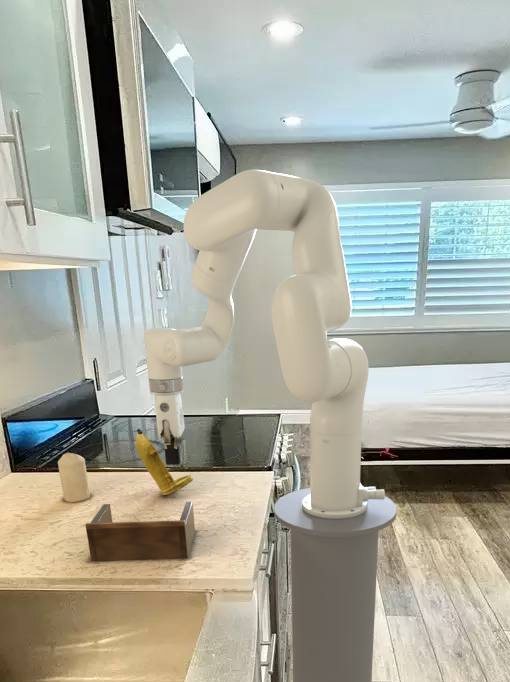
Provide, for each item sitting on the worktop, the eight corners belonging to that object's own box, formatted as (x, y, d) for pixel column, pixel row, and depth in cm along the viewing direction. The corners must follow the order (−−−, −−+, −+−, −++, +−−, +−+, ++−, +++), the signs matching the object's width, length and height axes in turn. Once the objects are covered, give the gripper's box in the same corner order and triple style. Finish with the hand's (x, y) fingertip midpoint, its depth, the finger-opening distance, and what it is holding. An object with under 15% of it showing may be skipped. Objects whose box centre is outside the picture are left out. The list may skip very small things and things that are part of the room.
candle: (95, 495, 126) (89, 452, 123) (76, 503, 122) (68, 459, 118) (78, 491, 129) (71, 449, 125) (58, 499, 125) (50, 455, 121)
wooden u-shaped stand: (195, 531, 107) (192, 497, 104) (187, 558, 97) (184, 521, 94) (107, 533, 107) (102, 500, 104) (91, 561, 97) (85, 524, 94)
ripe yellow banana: (138, 502, 122) (129, 434, 116) (145, 489, 129) (138, 424, 124) (191, 500, 122) (185, 432, 116) (196, 487, 129) (190, 422, 124)
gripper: (178, 391, 121) (185, 473, 128) (187, 379, 135) (192, 454, 142) (143, 392, 121) (151, 474, 128) (155, 380, 135) (162, 454, 142)
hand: (173, 463), depth 135 cm, fingers closed
